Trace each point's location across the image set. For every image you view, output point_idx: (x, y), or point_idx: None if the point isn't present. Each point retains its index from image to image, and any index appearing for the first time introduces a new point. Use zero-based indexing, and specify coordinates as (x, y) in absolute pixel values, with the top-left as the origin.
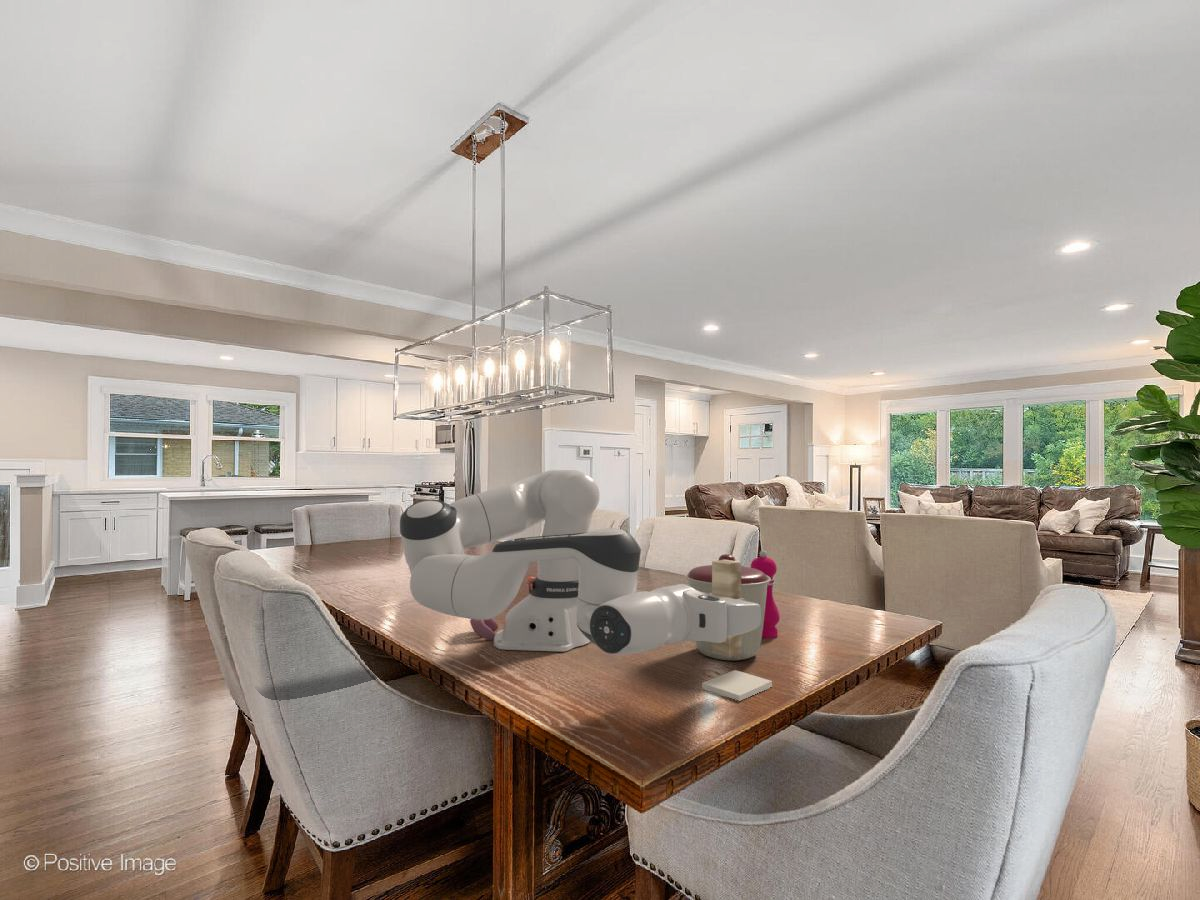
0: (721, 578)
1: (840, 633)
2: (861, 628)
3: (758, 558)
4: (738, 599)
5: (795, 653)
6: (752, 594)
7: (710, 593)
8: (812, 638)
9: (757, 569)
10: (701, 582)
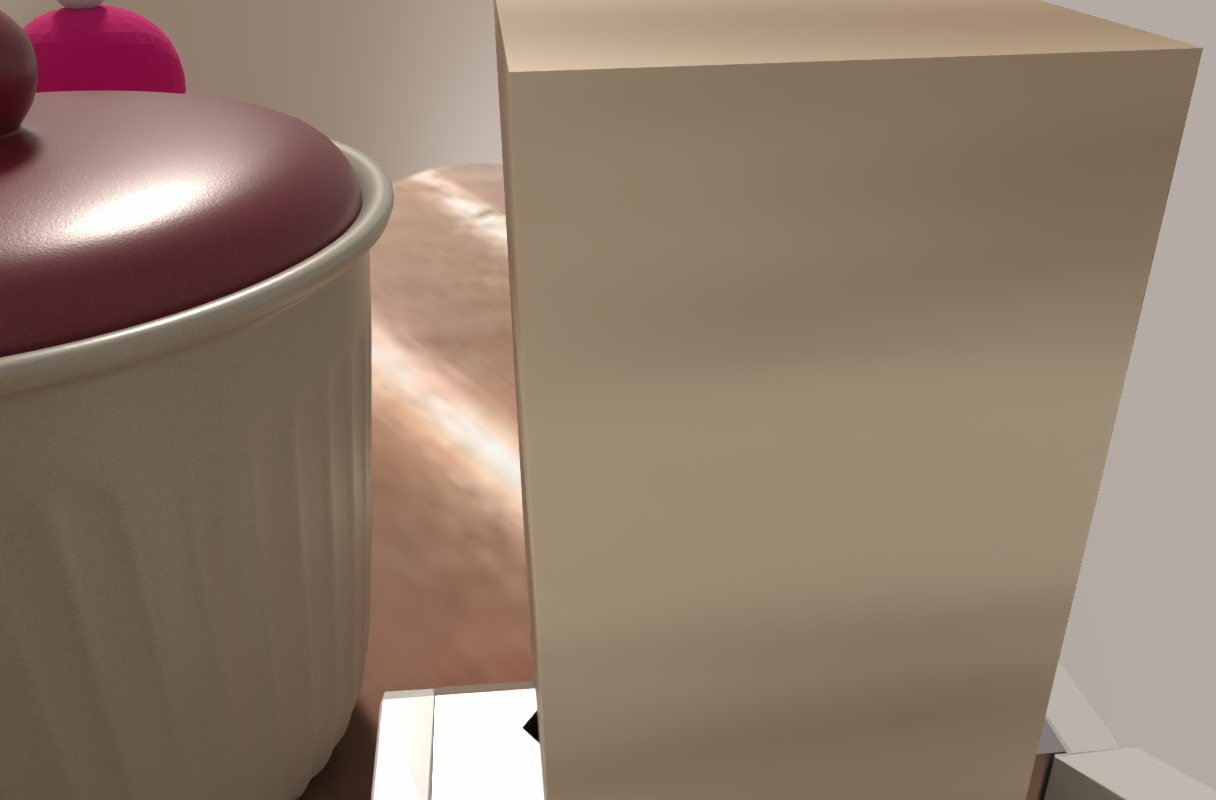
0: (862, 510)
1: (444, 301)
2: (466, 251)
3: (59, 20)
4: (1105, 742)
5: (463, 514)
6: (346, 326)
7: (385, 794)
8: (396, 372)
9: None
10: None
